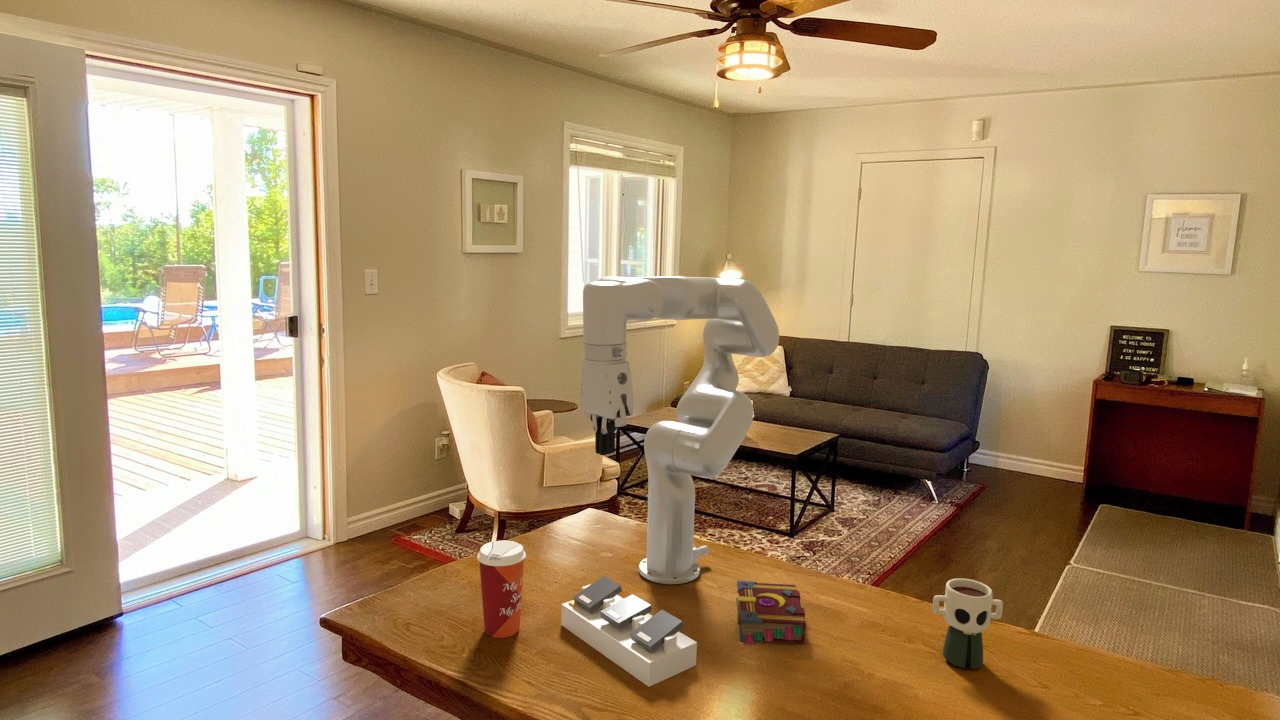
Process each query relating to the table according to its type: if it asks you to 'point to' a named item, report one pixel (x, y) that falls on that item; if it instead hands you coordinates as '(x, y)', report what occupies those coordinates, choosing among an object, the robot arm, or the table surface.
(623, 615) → the rocker mid
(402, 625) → the table surface
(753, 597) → the decorative book
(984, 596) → the character mug
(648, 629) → the rocker
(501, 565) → the coffee cup
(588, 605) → the rocker
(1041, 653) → the table surface
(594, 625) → the strip
